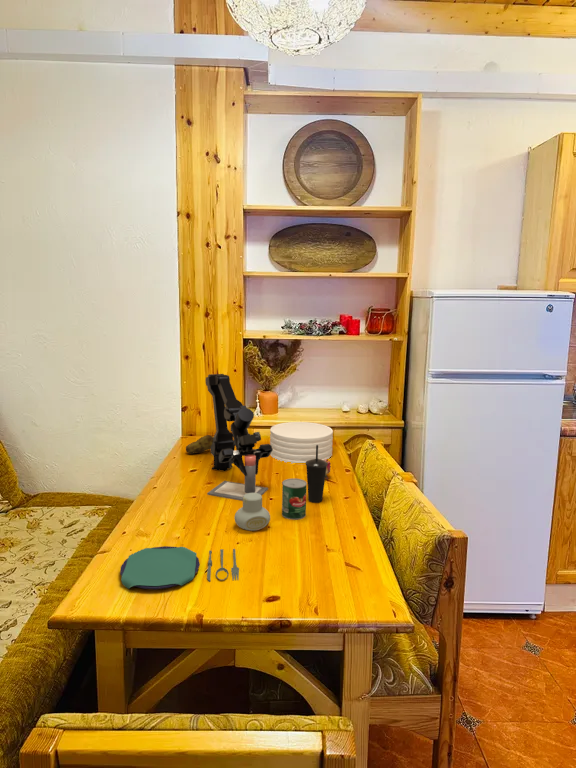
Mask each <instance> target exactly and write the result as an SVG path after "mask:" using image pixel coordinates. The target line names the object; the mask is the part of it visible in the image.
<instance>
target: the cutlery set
mask: <svg viewBox="0 0 576 768" xmlns="http://www.w3.org/2000/svg"><path fill="white" fill-rule="evenodd" d="M212 552H213V551H212V550H209V551H208V554H209V557H208V560H207V570H206V571H207V573H206V574H207V575H206V579H207V581H208V582H209V583H210V582H211V575H212V573H211V572H212V569H211V568H212V566H213V560H212ZM219 552H220V567H219V568H218V569H216V572H215V577H216V578H217V579H218V580H219V581H225V580H226V579H227V578H228V577H229V570H228V569H227V568H225V567H224V549H222V548H221V549H220V550H219ZM232 554H233V555H232V558H233V560H232V561H233V565H232V567H230V568H231V571H230V572H231V577H232V581H239V575H240V573H239V572H240V567H237V566H238V565H237V562H236V561H237V558H236V549H235V548H232ZM200 565H201V564H200V560H199V557H198V556H197V552H195V551H193V550H191V549H189V548H187V547H184V546H166V545H165V546H155V547H154V546H153V547H145V548H143V549H140V550H138V551H136V552H134V553H131V554H129V555H128V558H126V559H125V560H124V561H123V562H122V564H121V565H120V572H119V573H120V576H121V579H120V580H121V584H122V585H123V586H124V587H125V588H127V589H130V588H132V587H136V588H140V589H142V590H143V589H145V590H160V589H168V588H172V587H176V586H178V585H179V586H183V585H186V584H187V583H189V582H190V581H191V582H192V581H193V579H194V578H195V575H196V574H197V573H198V570H199V567H200ZM222 571H224V572H226V574H227V575H226V577H224V579H220V578H219V577H218V573H219V572H222Z"/></svg>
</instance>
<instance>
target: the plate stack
mask: <svg viewBox="0 0 576 768" xmlns="http://www.w3.org/2000/svg"><path fill="white" fill-rule="evenodd" d="M269 430H270V434H269V435H270V437H269V438H270V439H269V444H270V445H271V446H272V449H273V450H272V452H271V454H270V455H269V456H271V457H272V458H273V459H274V458H275V460H276V459H277V460H276V461H279V460H280V461H279V462H282V461H284V463H287V462H291V463H290V464H293V463H306V461H308V460H311V459H316V445H318V459H321V460H325V459H329V458H330V457H331V456H332V457H333V438H334V437H333V436H334V435H333V434H334V430H333V429H332V428H331V427H330V426H328V425H325V424H322V423H316V422H310V421H289V422H282V423H277V424H275V425H272V426H271V427H270V429H269ZM332 457H331V458H332ZM331 458H330V459H331ZM330 459H329V460H330Z"/></svg>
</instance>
